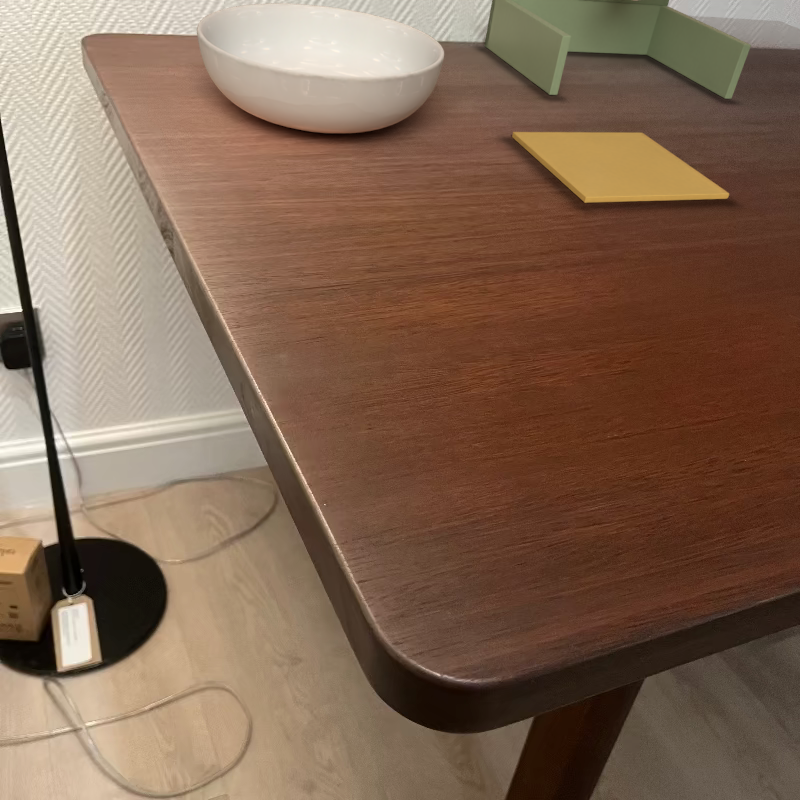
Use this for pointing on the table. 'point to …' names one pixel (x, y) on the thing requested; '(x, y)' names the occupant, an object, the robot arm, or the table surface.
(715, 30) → the cubby
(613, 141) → the board
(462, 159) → the table surface
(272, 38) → the serving bowl
